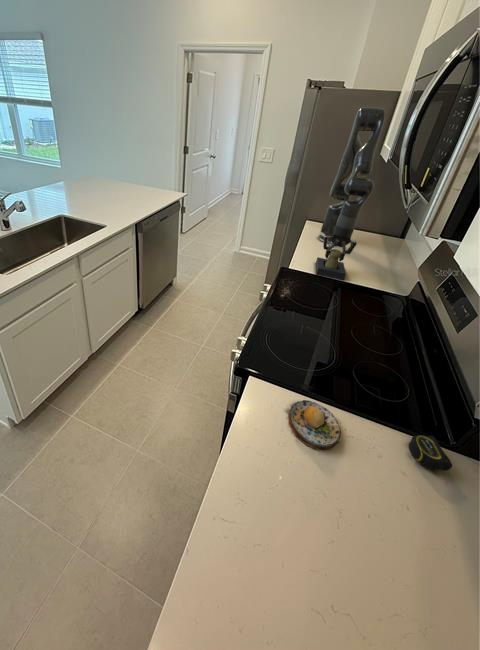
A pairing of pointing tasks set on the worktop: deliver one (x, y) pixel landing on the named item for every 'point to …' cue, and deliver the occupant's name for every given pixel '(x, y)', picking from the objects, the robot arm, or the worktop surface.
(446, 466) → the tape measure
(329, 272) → the base pad
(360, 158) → the robot arm
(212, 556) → the worktop surface
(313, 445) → the speckled dish
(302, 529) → the worktop surface
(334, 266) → the olive flared shaker
